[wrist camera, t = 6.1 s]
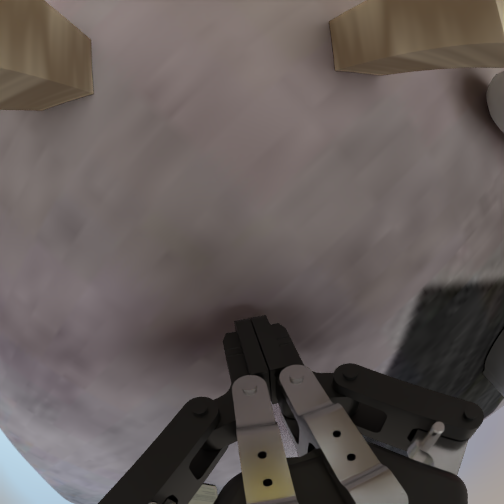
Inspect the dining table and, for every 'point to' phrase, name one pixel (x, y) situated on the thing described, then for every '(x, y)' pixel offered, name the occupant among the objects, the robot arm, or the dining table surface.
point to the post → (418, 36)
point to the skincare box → (205, 495)
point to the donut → (496, 100)
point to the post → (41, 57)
